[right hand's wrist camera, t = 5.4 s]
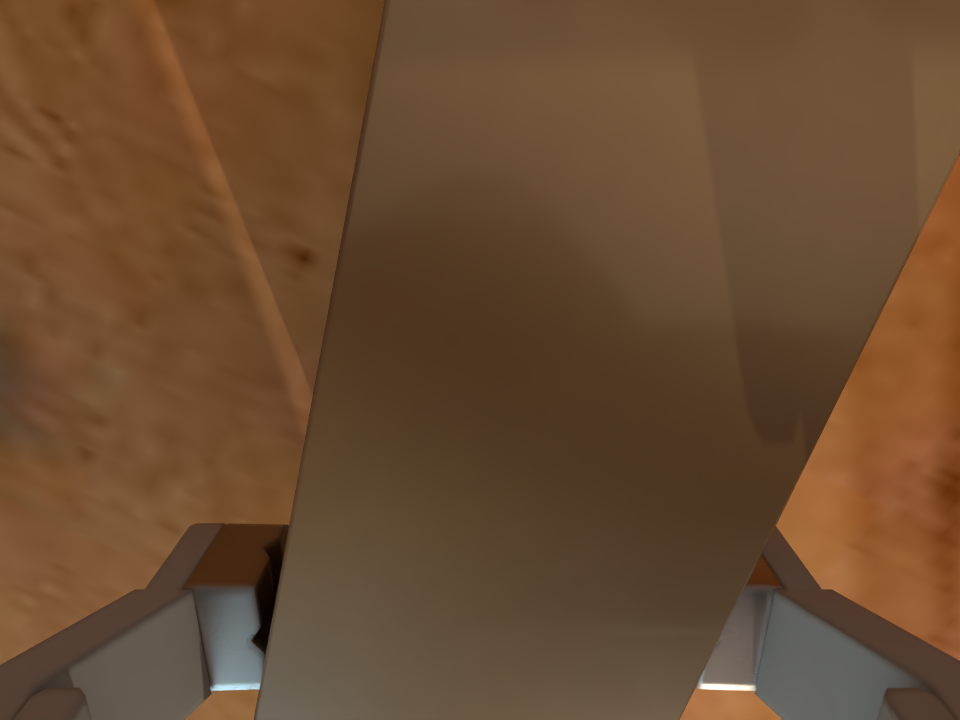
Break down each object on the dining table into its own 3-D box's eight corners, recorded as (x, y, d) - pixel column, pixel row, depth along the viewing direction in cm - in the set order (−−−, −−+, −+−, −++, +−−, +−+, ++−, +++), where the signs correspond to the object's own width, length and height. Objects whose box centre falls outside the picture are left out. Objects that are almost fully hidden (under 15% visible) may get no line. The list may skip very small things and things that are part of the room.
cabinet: (515, -276, 13) (616, -1286, 4) (780, -188, 13) (1473, -869, 4) (349, 490, 19) (228, 852, 10) (534, 530, 19) (587, 910, 10)
